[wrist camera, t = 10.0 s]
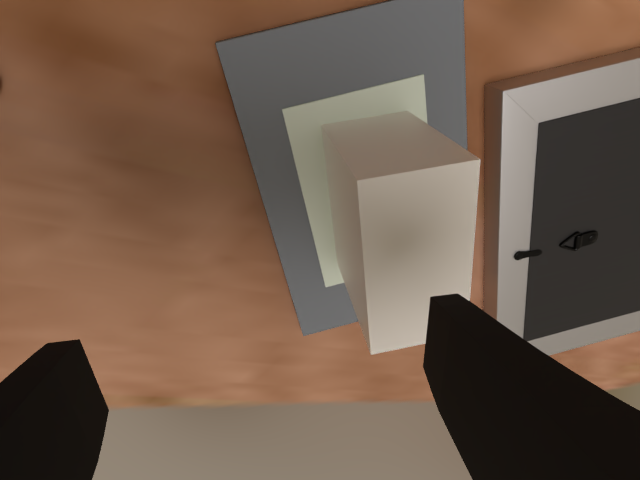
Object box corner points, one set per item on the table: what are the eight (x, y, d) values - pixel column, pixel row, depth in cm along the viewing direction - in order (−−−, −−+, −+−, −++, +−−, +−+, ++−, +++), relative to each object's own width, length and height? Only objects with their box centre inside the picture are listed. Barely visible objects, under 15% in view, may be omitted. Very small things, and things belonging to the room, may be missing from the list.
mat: (216, 41, 15) (215, 43, 15) (455, -16, 16) (464, -17, 15) (301, 328, 22) (303, 337, 22) (465, 284, 23) (471, 292, 22)
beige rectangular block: (337, 262, 20) (370, 354, 15) (321, 124, 17) (357, 180, 12) (409, 249, 20) (467, 334, 15) (407, 110, 17) (480, 159, 12)
